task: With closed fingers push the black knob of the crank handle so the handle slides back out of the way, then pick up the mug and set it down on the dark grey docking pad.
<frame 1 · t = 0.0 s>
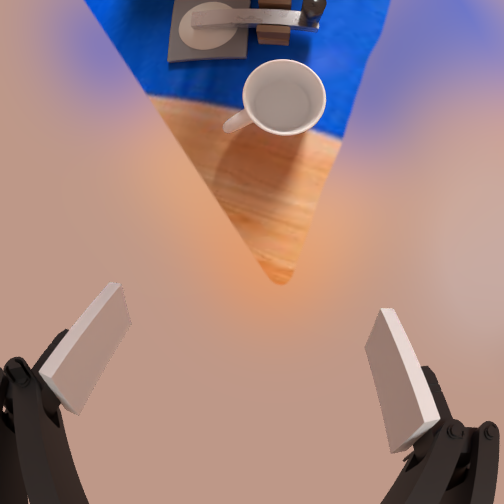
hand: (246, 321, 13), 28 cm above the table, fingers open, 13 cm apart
mug: (269, 110, 33), on the table
crank handle: (252, 9, 22), point 6 cm above the table, slide at 0.0 cm
pin mount: (274, 27, 27), on the table
dock pad: (209, 27, 28), on the table
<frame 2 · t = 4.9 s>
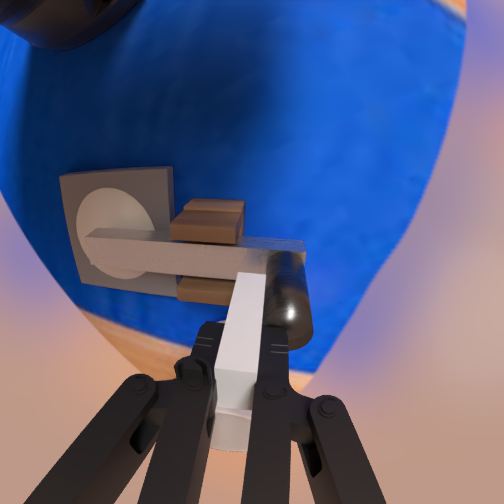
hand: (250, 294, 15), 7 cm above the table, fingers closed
mug: (222, 349, 27), on the table
crank handle: (170, 276, 16), point 6 cm above the table, slide at 0.8 cm, touching gripper
pin mount: (218, 236, 21), on the table
dock pad: (119, 230, 22), on the table
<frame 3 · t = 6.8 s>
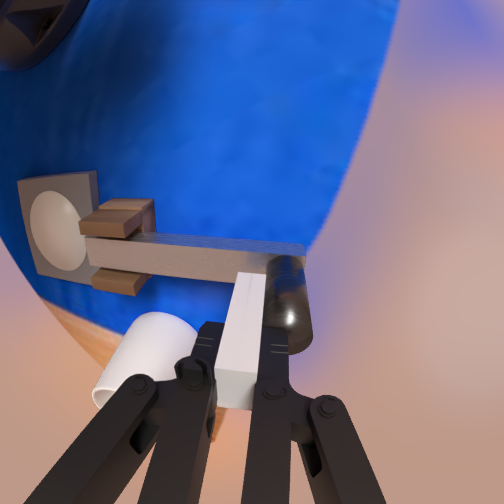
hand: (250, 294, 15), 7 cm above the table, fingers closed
mug: (156, 340, 28), on the table
crank handle: (170, 278, 16), point 6 cm above the table, slide at 8.1 cm, touching gripper
pin mount: (135, 232, 22), on the table
dock pad: (63, 227, 22), on the table
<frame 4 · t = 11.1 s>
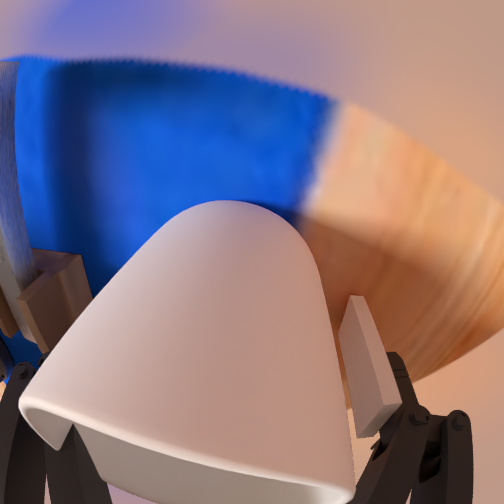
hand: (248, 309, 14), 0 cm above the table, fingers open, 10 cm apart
mug: (249, 303, 14), on the table, touching gripper
pin mount: (57, 277, 15), on the table
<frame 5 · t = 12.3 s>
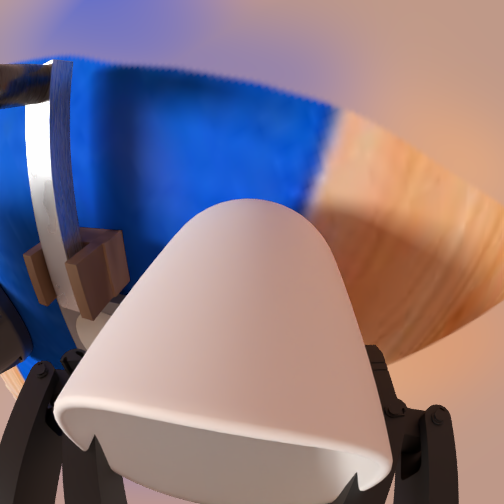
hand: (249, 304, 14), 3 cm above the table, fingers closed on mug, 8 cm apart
mug: (266, 299, 15), point 3 cm above the table, touching gripper
crank handle: (17, 210, 10), point 6 cm above the table, slide at 8.1 cm
pin mount: (94, 252, 18), on the table
dock pad: (118, 338, 22), on the table
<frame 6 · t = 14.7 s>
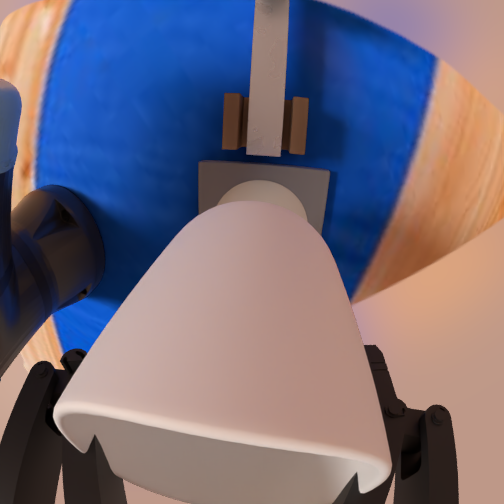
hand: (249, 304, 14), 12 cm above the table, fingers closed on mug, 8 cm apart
mug: (266, 301, 15), point 12 cm above the table, touching gripper
crank handle: (268, 41, 13), point 6 cm above the table, slide at 8.1 cm
pin mount: (267, 123, 21), on the table
dock pad: (260, 222, 25), on the table
when the fingers open (2 cm above the table, at t = 16.9 s): mug stays where it is, resting on dock pad.
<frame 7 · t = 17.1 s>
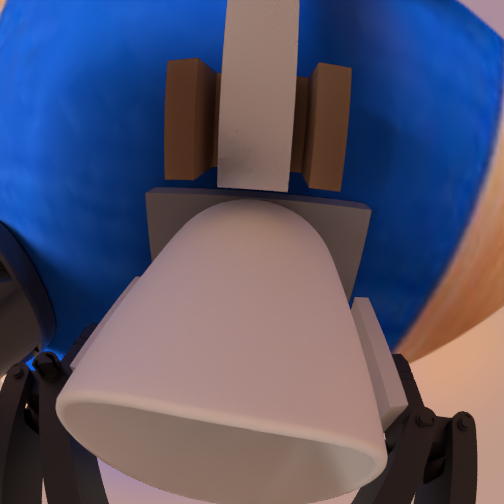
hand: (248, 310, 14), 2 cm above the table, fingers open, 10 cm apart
mug: (265, 298, 15), point 1 cm above the table, touching dock pad
pin mount: (262, 121, 12), on the table
dock pad: (252, 285, 16), on the table
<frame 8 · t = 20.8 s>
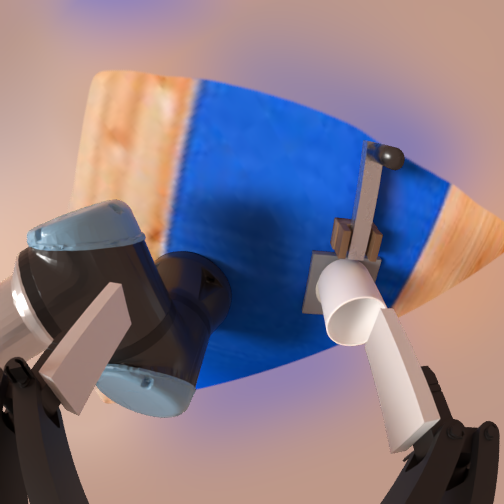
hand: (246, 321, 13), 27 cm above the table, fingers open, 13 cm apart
mug: (346, 288, 41), point 1 cm above the table, touching dock pad
crank handle: (372, 209, 30), point 6 cm above the table, slide at 8.1 cm
pin mount: (351, 232, 38), on the table
dock pad: (340, 283, 42), on the table
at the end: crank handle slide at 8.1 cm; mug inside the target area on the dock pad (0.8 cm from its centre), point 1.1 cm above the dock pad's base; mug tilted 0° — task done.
